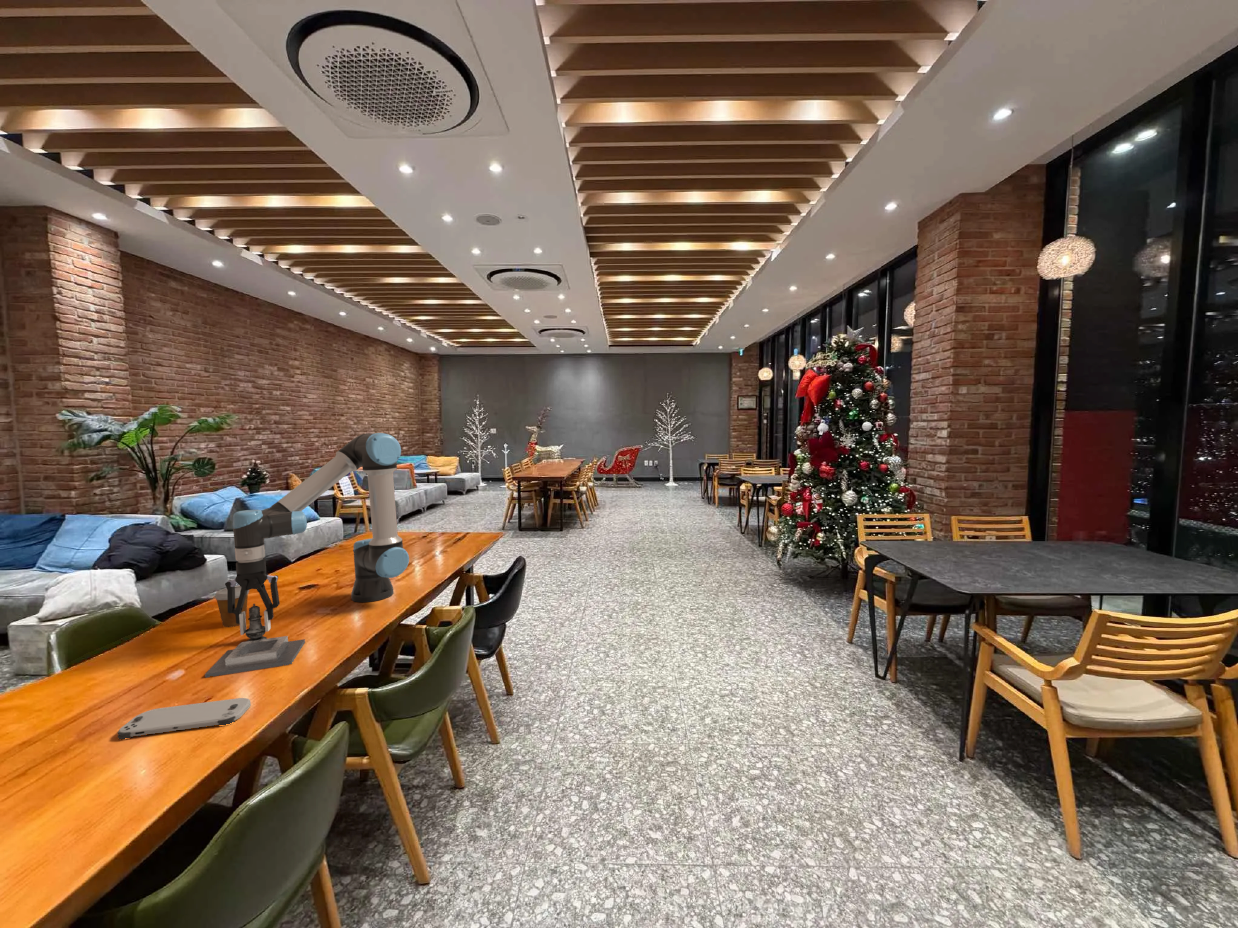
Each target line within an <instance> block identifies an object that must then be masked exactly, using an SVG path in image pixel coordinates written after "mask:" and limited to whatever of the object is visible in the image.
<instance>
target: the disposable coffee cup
mask: <svg viewBox="0 0 1238 928" xmlns="http://www.w3.org/2000/svg"><path fill="white" fill-rule="evenodd" d="M240 591H241V586H240V585H235V608H236V606H237V603H238V599H239V596H240ZM249 593H250V590H248V591H247V595H246V598H245V602H244V605H243V609H242V612H245V618H246V619H247V612H248V611H247V609H248V597H249ZM214 598H215V599H216V603H217V606H218V607H217V608H218V611H219V615H220V619H221V622H222V626H223V627H224V628H233V626H234V627H237V626H240V624H236V616H235V614H234V613H228V603H227V588H226V587H225V588H223V589H219V590H217V591H216V592H215V595H214Z"/></svg>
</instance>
